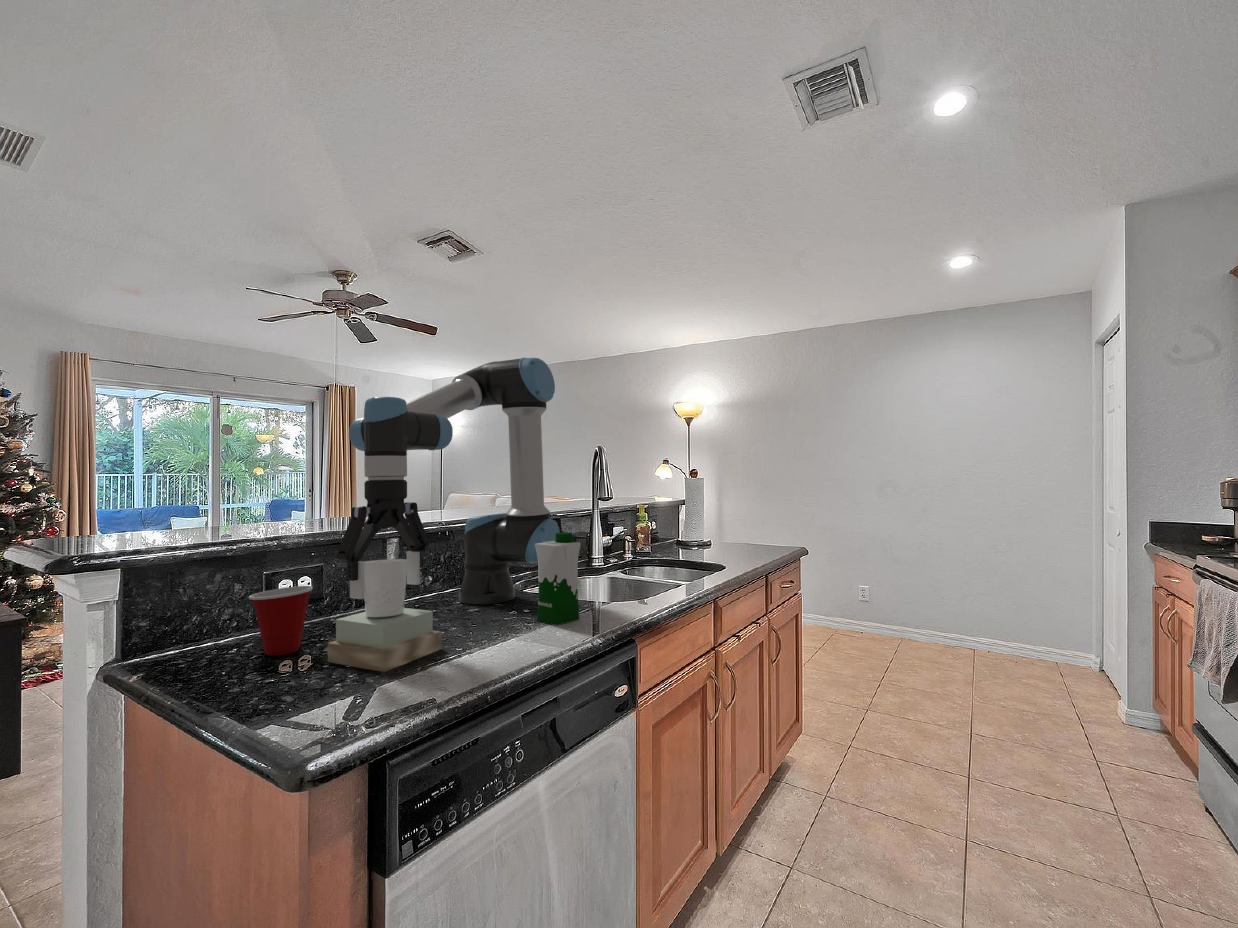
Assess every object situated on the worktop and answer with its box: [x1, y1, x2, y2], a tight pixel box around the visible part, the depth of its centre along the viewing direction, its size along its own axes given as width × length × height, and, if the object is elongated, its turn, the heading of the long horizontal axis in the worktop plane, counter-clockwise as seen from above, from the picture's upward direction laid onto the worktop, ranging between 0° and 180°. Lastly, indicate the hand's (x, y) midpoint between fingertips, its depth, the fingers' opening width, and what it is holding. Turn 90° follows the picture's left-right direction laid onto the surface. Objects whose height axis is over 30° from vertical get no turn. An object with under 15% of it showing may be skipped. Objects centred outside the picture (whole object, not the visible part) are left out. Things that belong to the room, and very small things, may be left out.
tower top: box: [335, 607, 434, 649], centre depth 108 cm, size 12×12×4 cm
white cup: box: [363, 558, 407, 617], centre depth 108 cm, size 8×8×10 cm
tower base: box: [327, 630, 442, 673], centre depth 107 cm, size 14×14×4 cm
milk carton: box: [535, 532, 581, 626], centre depth 132 cm, size 9×9×20 cm
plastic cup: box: [248, 585, 313, 657], centre depth 110 cm, size 11×11×12 cm
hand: (386, 591), depth 107 cm, fingers open, 13 cm apart
